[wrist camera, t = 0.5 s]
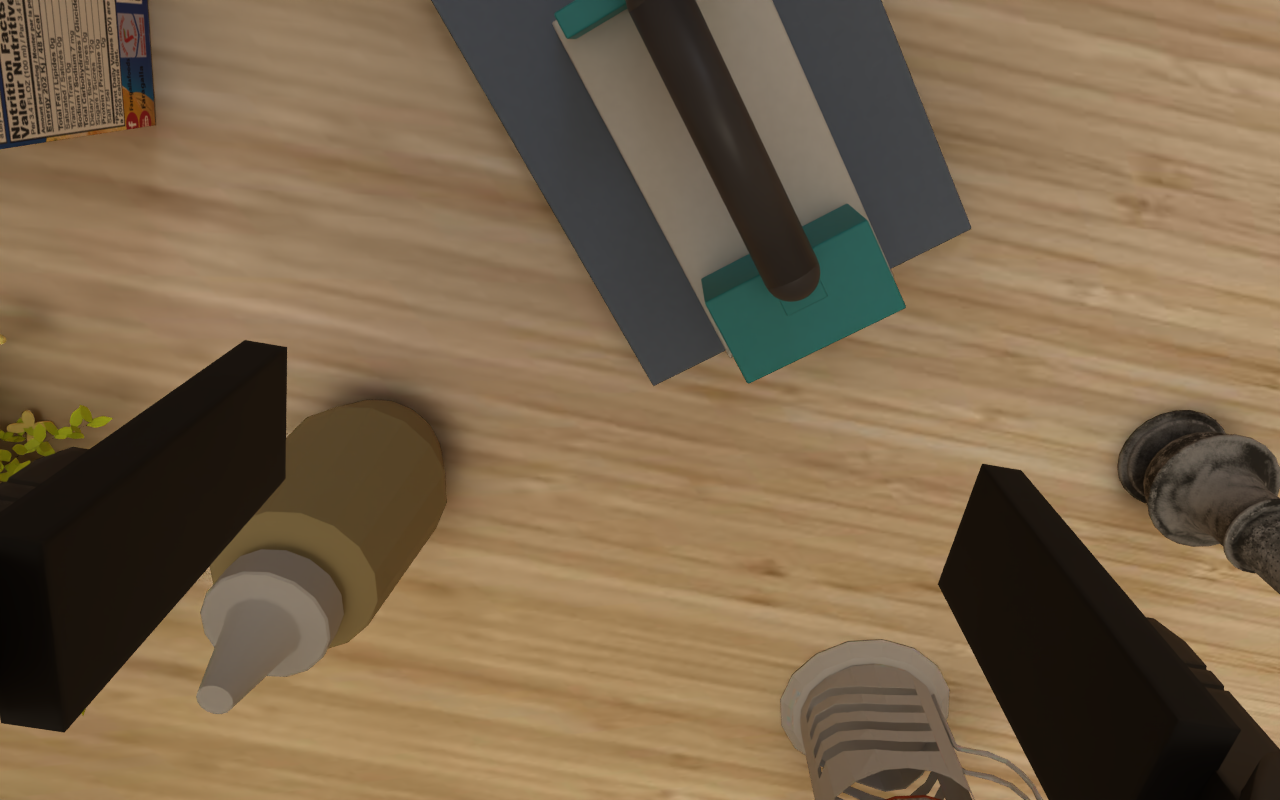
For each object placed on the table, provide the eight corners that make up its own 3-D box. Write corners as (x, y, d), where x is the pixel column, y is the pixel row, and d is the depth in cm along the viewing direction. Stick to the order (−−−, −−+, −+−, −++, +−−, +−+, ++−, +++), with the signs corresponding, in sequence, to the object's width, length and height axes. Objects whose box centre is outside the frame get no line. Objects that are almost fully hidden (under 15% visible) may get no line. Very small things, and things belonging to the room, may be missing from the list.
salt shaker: (1096, 504, 44) (1243, 659, 33) (1132, 399, 42) (1302, 528, 30) (1209, 514, 44) (1394, 672, 33) (1251, 410, 42) (1464, 542, 31)
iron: (887, 271, 38) (954, 338, 30) (728, 350, 40) (747, 436, 31) (731, -85, 33) (755, -131, 24) (554, 23, 35) (518, 16, 26)
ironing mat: (705, -427, 30) (706, -442, 29) (964, 224, 38) (972, 229, 38) (339, -169, 33) (330, -175, 32) (653, 379, 42) (653, 386, 41)
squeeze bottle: (494, 435, 43) (387, 679, 27) (414, 544, 46) (273, 829, 29) (353, 346, 41) (146, 547, 25) (280, 465, 44) (48, 719, 28)
